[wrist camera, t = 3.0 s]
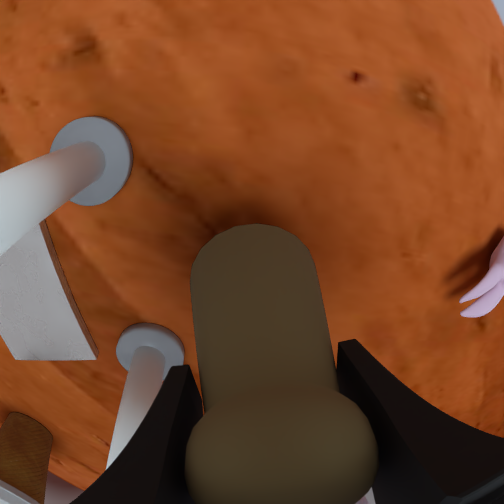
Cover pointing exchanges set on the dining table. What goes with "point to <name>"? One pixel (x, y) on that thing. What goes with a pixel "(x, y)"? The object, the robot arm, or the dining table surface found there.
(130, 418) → the post
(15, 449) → the disposable coffee cup
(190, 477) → the cork
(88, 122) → the post
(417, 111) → the dining table surface
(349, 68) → the dining table surface
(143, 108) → the dining table surface
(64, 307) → the board
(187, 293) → the dining table surface
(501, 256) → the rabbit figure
